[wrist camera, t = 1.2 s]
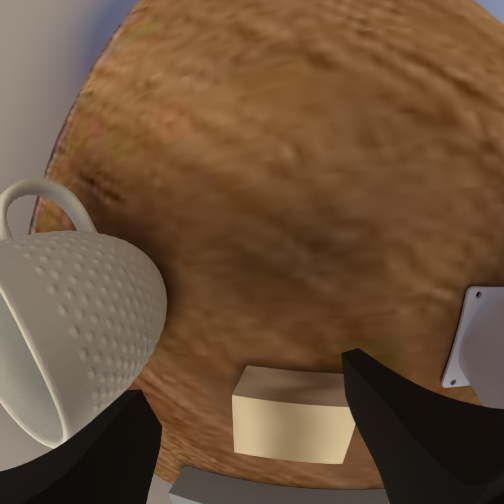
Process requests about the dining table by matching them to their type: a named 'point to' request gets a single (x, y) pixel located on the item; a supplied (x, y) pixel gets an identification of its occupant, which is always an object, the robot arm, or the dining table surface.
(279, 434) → the maple block
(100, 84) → the dining table surface
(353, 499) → the board
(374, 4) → the dining table surface
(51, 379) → the mug
